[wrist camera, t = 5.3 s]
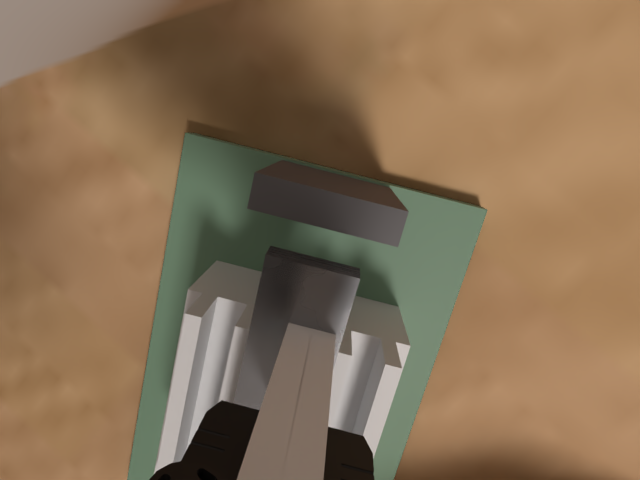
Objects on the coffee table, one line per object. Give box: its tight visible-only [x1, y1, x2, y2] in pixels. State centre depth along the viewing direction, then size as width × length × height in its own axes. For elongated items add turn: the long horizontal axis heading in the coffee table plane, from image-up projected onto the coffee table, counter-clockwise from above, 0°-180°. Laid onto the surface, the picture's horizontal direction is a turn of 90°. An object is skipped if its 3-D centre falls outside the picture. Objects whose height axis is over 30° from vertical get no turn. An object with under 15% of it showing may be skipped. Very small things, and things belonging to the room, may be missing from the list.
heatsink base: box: [127, 133, 487, 480], centre depth 20 cm, size 20×14×8 cm
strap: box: [233, 246, 360, 410], centre depth 15 cm, size 15×4×1 cm, turn 166°
